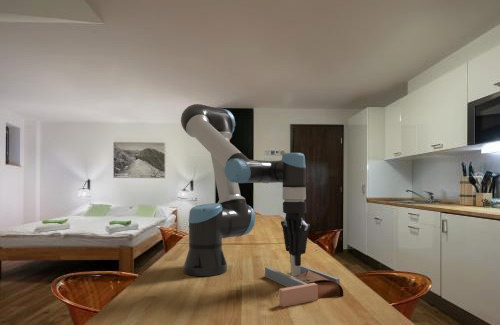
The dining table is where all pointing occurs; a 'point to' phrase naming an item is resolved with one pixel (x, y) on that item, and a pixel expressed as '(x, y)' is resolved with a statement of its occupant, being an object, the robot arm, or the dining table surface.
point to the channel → (291, 281)
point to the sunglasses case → (322, 285)
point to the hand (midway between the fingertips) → (295, 275)
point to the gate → (298, 294)
